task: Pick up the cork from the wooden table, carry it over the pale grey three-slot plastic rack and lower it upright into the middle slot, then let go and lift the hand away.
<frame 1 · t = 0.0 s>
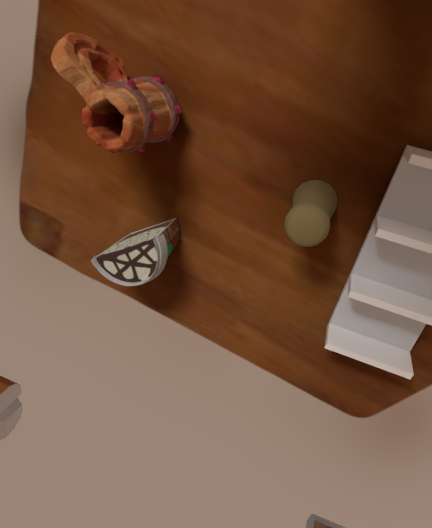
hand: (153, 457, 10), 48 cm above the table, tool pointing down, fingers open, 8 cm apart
mug: (149, 91, 55), on the table
slot rack: (406, 259, 54), on the table
cork: (314, 201, 55), on the table
food container: (161, 242, 65), on the table
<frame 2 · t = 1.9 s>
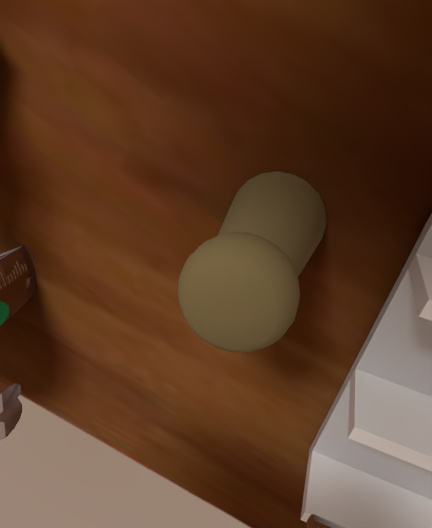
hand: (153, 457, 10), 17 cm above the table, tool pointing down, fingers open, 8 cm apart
cork: (277, 218, 25), on the table
food container: (8, 287, 36), on the table
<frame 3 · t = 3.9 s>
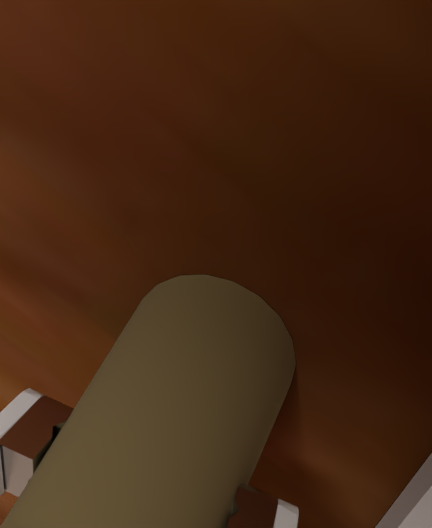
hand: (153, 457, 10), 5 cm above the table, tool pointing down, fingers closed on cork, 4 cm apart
cork: (212, 346, 14), on the table, touching gripper
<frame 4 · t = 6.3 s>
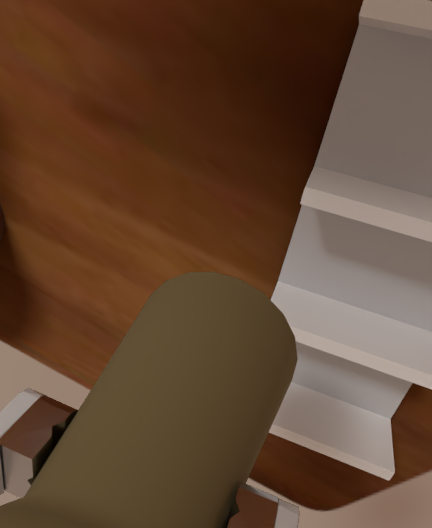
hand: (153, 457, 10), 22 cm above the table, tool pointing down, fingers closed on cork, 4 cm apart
slot rack: (377, 254, 28), on the table
cork: (216, 342, 15), point 16 cm above the table, touching gripper
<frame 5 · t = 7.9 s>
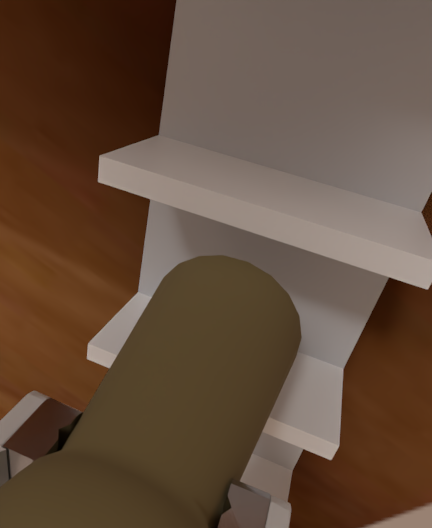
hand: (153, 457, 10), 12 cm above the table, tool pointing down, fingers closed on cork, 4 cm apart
slot rack: (258, 259, 21), on the table
cork: (225, 322, 16), point 6 cm above the table, touching gripper
when the fingers open (7 cm above the table, at t = 9.3 s): cork stays where it is, resting on slot rack.
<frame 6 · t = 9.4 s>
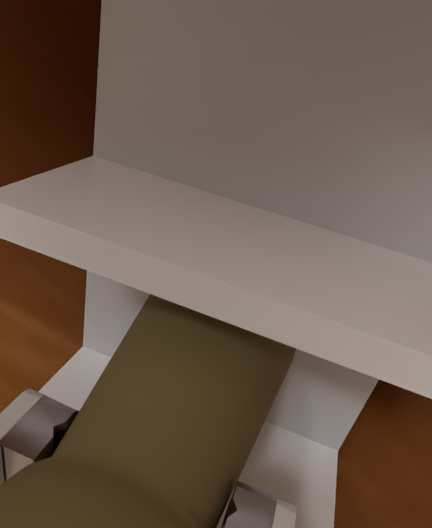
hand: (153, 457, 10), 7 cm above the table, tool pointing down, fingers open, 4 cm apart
slot rack: (229, 311, 16), on the table
cork: (221, 324, 16), point 1 cm above the table, touching slot rack
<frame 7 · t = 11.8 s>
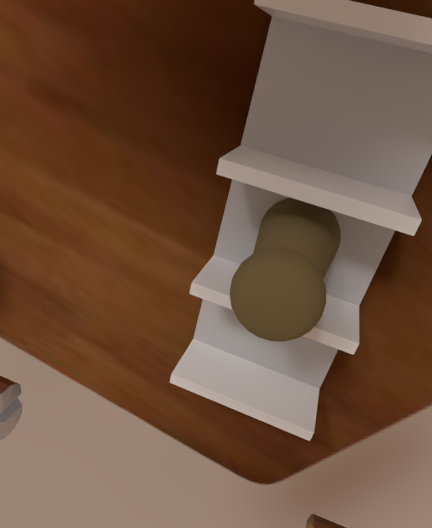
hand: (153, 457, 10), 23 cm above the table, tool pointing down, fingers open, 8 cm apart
slot rack: (301, 230, 31), on the table
cork: (298, 235, 30), point 1 cm above the table, touching slot rack
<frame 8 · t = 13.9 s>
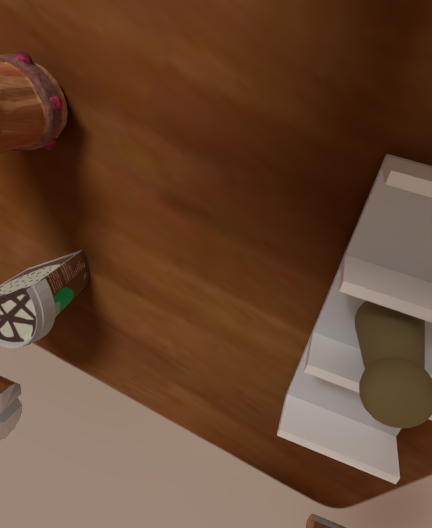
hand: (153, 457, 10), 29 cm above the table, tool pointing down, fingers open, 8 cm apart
mug: (27, 77, 39), on the table
slot rack: (389, 316, 38), on the table
cork: (388, 321, 37), point 1 cm above the table, touching slot rack
food container: (67, 280, 49), on the table
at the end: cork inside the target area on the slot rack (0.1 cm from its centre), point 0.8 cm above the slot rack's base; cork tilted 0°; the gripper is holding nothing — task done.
